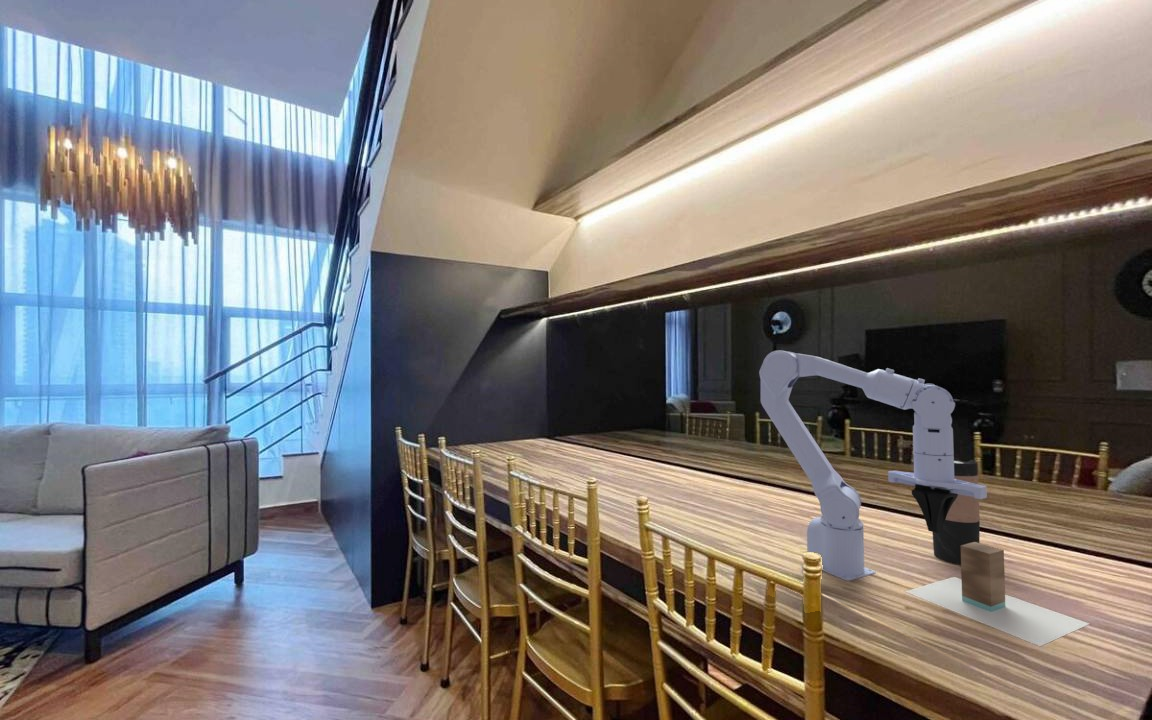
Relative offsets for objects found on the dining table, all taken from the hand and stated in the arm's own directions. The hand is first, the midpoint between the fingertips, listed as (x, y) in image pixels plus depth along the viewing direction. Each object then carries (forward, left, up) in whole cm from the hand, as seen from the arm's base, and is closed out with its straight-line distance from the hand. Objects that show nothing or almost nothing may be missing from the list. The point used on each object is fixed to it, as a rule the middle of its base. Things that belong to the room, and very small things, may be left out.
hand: (935, 530), depth 84 cm
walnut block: (+7, 0, -10) cm, 12 cm away
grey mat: (+8, 0, -10) cm, 13 cm away
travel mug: (-6, +17, -10) cm, 21 cm away
